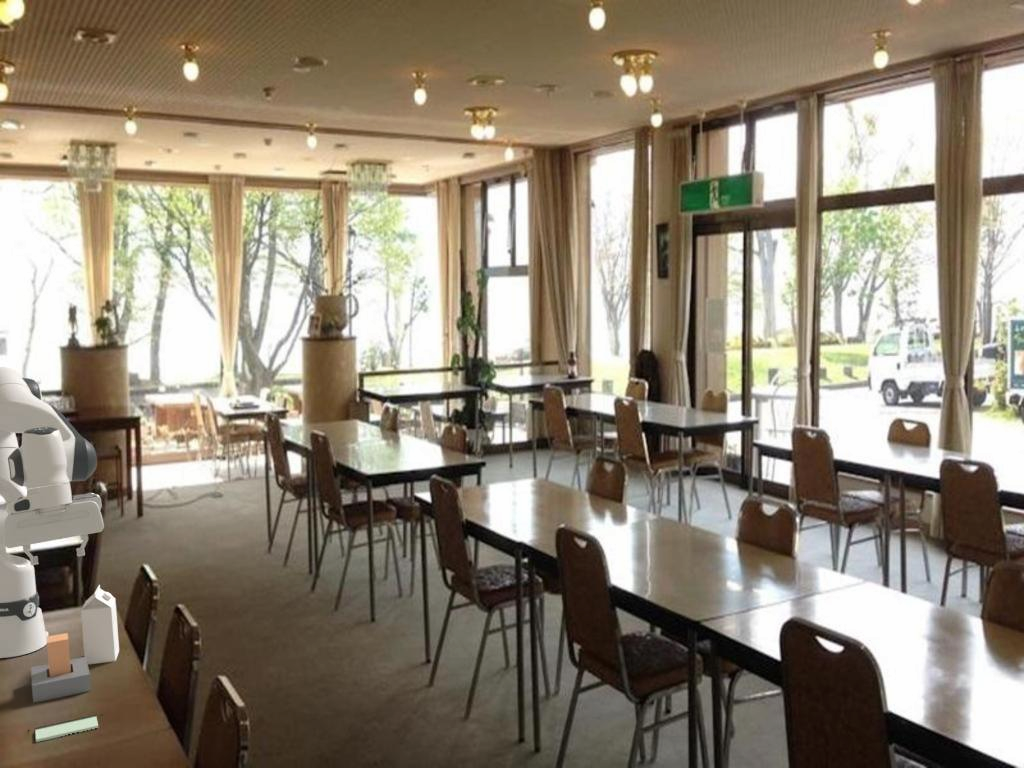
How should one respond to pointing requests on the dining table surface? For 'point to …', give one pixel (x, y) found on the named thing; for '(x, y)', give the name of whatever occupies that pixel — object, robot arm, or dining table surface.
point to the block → (58, 654)
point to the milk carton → (100, 628)
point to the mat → (66, 728)
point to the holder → (60, 681)
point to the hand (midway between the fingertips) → (58, 560)
